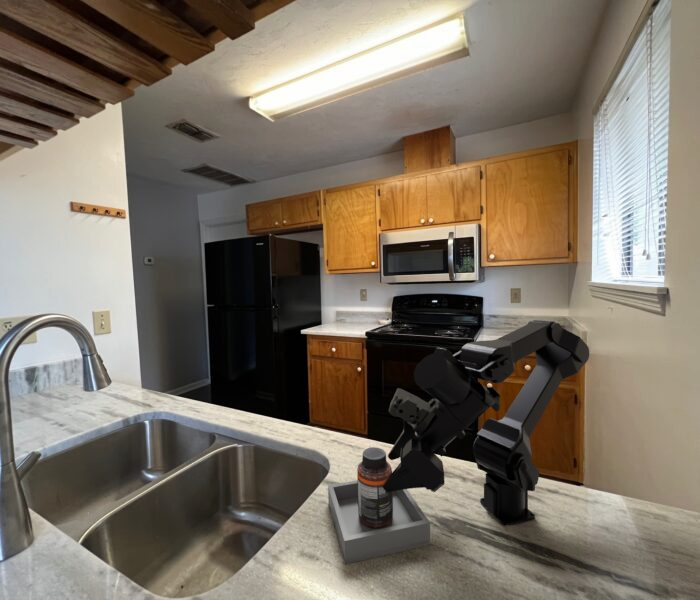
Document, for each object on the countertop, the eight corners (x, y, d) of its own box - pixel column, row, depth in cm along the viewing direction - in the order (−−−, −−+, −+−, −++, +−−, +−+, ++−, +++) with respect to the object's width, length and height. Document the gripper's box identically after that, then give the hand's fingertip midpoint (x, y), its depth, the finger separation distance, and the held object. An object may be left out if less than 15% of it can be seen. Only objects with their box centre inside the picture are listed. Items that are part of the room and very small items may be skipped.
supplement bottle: (371, 501, 58) (370, 440, 58) (399, 515, 55) (399, 450, 54) (351, 519, 54) (349, 453, 54) (379, 536, 50) (378, 466, 50)
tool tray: (396, 491, 62) (396, 473, 62) (430, 544, 49) (430, 522, 49) (328, 503, 59) (328, 485, 59) (344, 564, 46) (344, 540, 46)
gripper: (417, 362, 61) (362, 415, 64) (417, 394, 43) (340, 466, 46) (460, 404, 60) (402, 457, 63) (480, 456, 42) (397, 527, 44)
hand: (387, 472), depth 54 cm, fingers open, 9 cm apart
